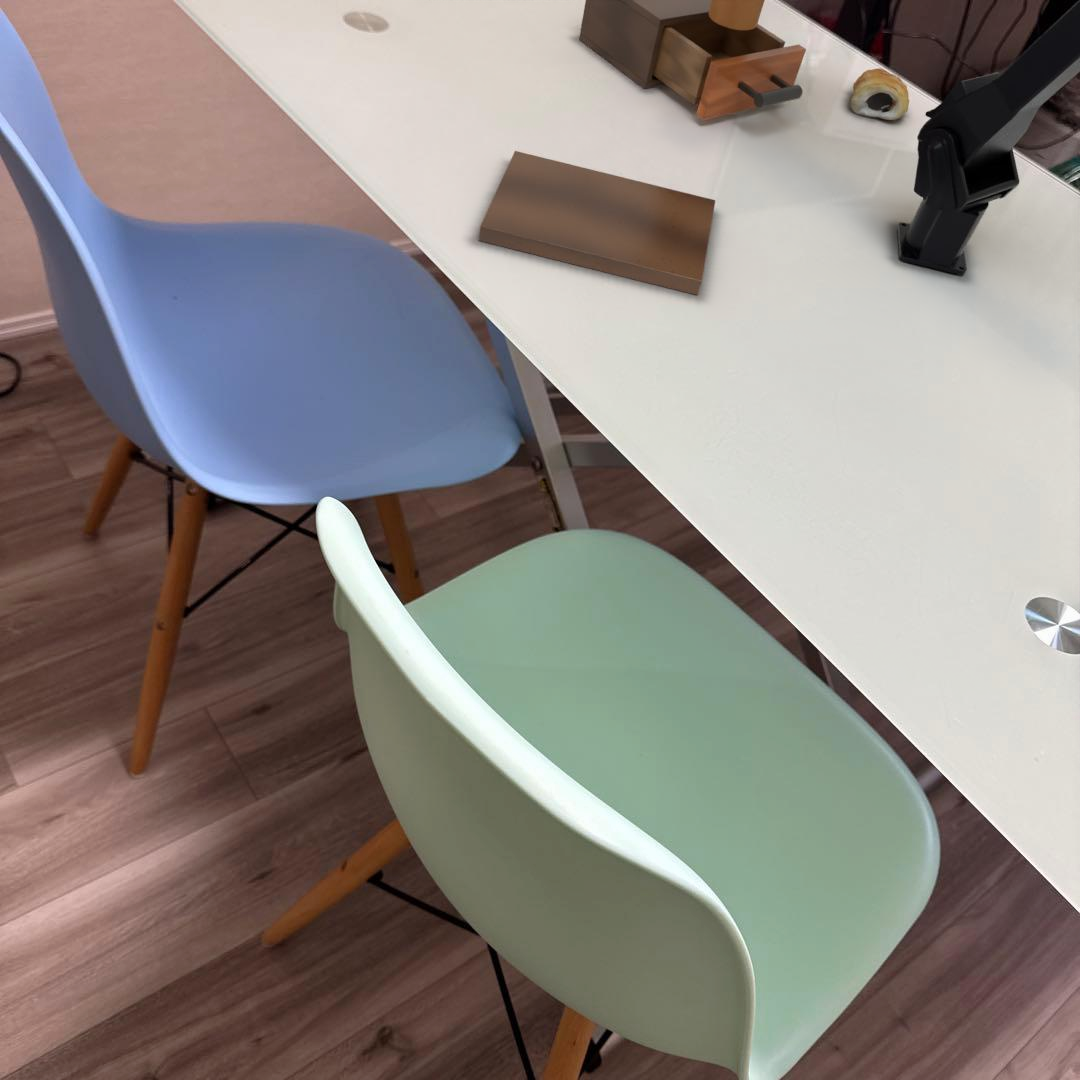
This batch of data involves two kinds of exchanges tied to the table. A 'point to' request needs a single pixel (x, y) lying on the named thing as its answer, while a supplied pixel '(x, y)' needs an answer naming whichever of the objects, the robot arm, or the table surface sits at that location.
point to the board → (600, 222)
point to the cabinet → (635, 31)
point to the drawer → (727, 67)
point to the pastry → (880, 95)
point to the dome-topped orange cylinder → (736, 13)
